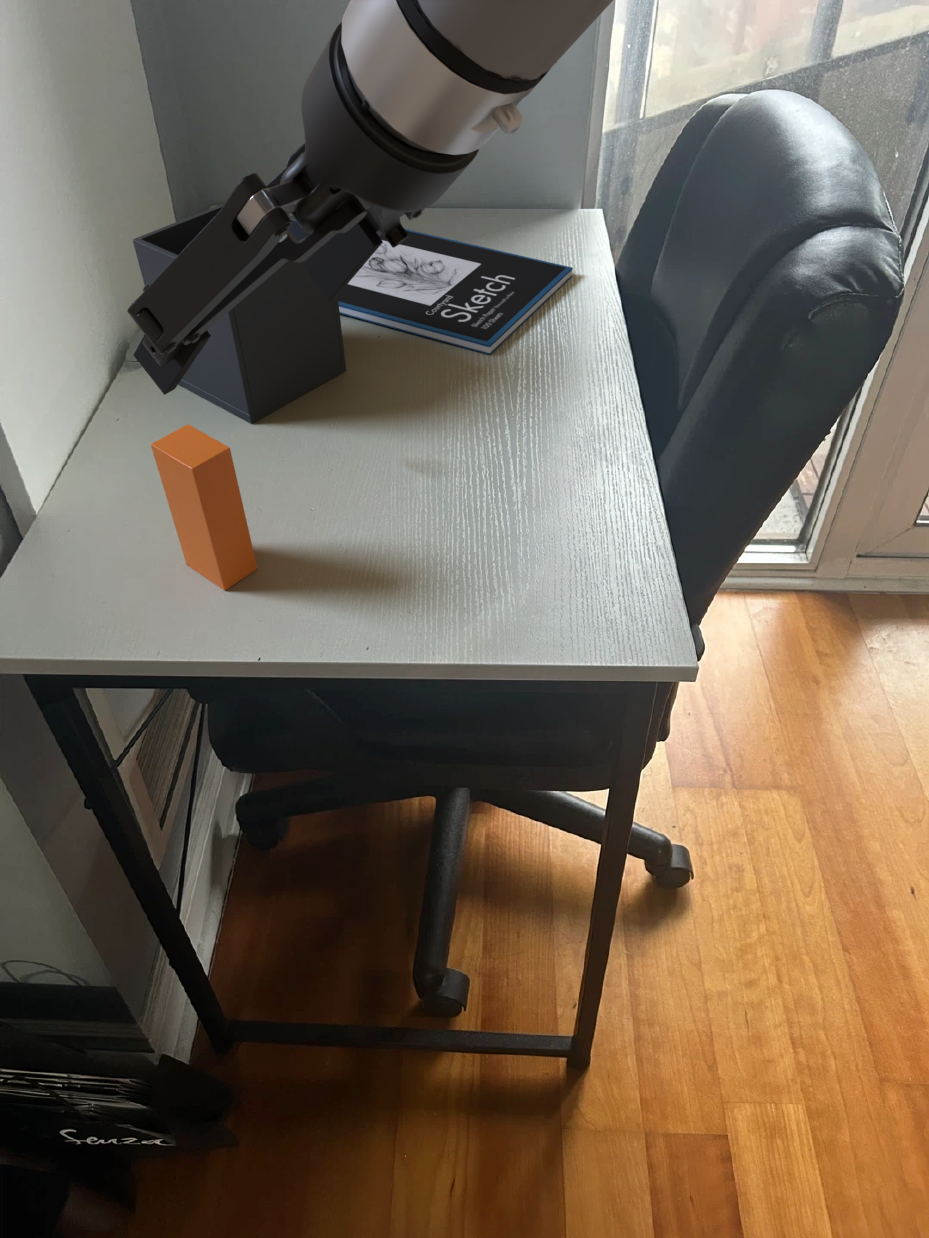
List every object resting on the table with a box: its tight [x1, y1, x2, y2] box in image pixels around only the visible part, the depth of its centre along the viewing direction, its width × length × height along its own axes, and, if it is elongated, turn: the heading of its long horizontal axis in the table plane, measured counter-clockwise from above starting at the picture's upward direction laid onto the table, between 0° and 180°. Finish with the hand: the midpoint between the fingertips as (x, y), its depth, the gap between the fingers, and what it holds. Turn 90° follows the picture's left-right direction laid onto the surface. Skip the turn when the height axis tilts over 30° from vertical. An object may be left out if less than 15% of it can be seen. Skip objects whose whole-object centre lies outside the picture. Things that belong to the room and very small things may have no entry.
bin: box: [132, 202, 347, 424], centre depth 94 cm, size 13×13×15 cm
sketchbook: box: [338, 228, 574, 356], centre depth 113 cm, size 22×30×2 cm
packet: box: [150, 423, 258, 591], centre depth 74 cm, size 4×5×12 cm
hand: (241, 324), depth 57 cm, fingers open, 13 cm apart
